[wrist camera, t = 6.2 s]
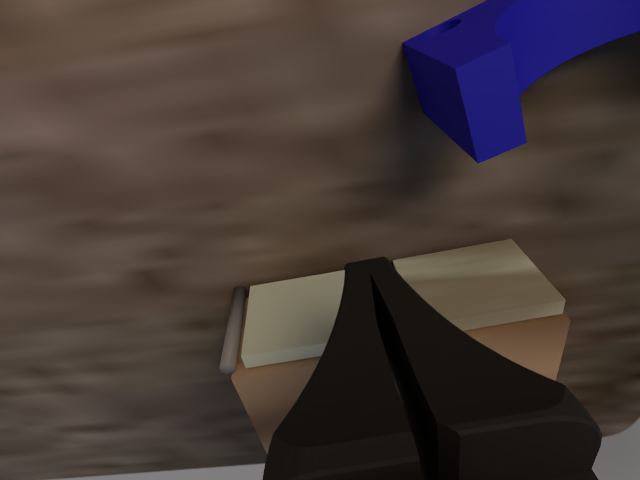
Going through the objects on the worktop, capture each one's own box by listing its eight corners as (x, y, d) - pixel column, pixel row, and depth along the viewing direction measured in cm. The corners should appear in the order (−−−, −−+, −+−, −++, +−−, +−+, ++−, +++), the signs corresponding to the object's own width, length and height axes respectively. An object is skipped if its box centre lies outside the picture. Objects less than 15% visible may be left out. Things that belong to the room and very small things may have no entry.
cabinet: (498, 357, 26) (541, 435, 22) (280, 394, 27) (278, 477, 22) (512, 235, 21) (574, 304, 16) (238, 284, 21) (224, 364, 17)
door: (389, 271, 21) (414, 344, 17) (235, 297, 22) (222, 375, 17) (388, 260, 21) (414, 331, 17) (231, 286, 21) (216, 364, 17)
